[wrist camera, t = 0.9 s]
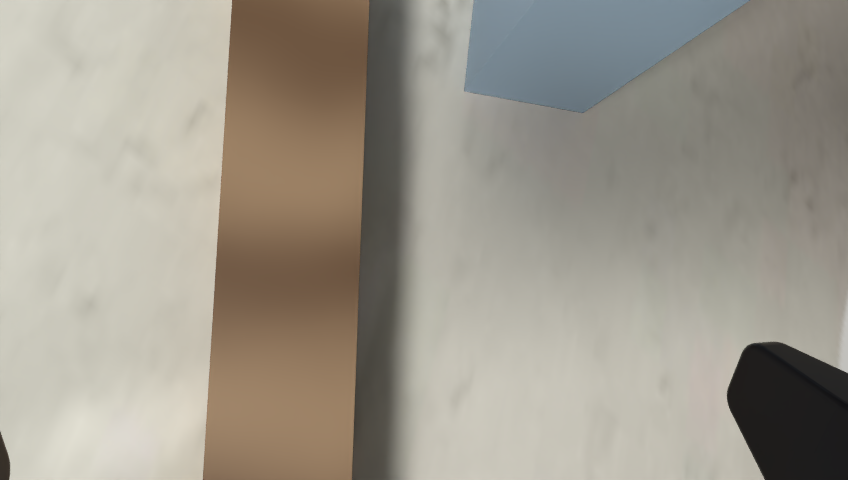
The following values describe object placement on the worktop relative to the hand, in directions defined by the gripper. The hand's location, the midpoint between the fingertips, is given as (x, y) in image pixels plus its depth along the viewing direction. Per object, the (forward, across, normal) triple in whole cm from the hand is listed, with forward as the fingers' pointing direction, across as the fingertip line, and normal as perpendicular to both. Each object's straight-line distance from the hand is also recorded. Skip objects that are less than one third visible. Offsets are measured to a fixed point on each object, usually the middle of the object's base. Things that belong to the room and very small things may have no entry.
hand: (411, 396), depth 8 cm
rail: (+12, +1, +7) cm, 14 cm away
